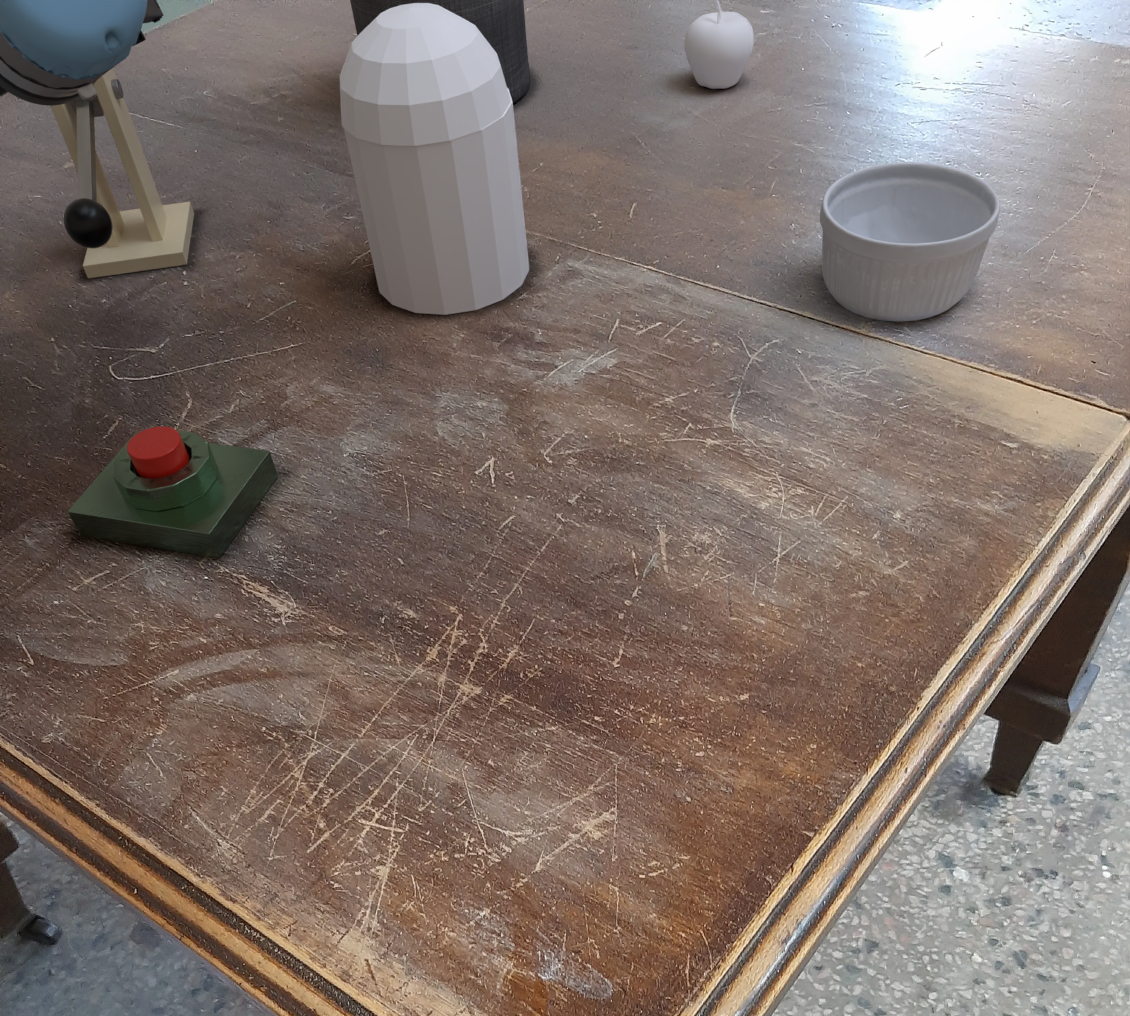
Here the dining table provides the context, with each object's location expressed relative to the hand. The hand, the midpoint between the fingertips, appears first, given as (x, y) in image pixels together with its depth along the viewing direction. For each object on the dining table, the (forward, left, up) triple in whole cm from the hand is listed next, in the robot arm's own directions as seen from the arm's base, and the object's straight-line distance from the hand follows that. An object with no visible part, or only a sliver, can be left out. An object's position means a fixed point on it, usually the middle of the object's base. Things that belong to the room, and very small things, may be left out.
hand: (13, 71), depth 79 cm
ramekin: (+66, +1, -19) cm, 69 cm away
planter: (+23, +44, -19) cm, 53 cm away
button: (+14, -26, -15) cm, 33 cm away
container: (+29, +5, -19) cm, 35 cm away
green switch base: (+14, -26, -19) cm, 35 cm away
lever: (0, +6, -10) cm, 12 cm away
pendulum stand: (-1, +12, -19) cm, 22 cm away
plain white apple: (+52, +43, -19) cm, 70 cm away
